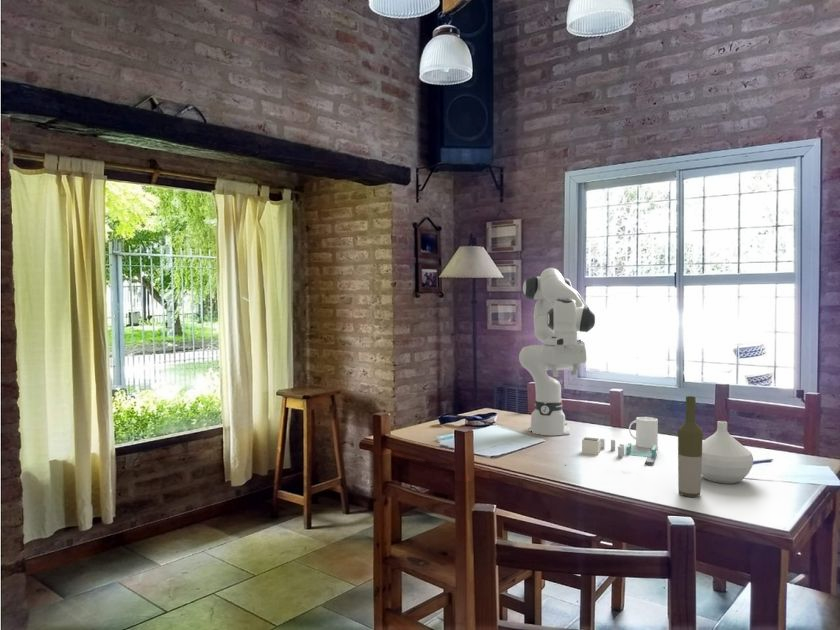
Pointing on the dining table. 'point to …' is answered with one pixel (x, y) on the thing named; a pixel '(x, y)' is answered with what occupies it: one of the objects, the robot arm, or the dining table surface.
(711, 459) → the vase
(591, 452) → the box
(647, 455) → the end holder
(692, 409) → the bottle
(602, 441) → the board
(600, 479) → the dining table surface
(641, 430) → the mug
